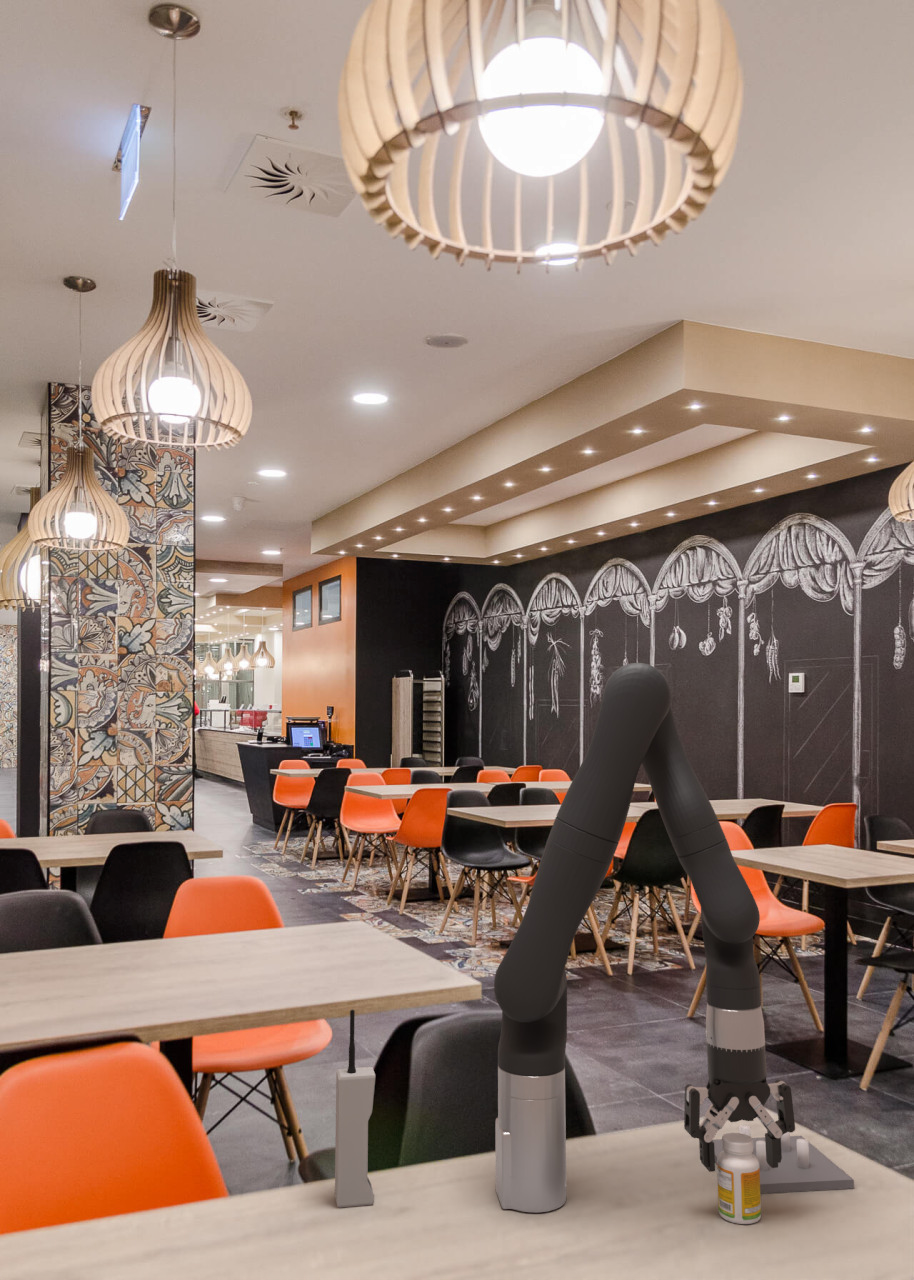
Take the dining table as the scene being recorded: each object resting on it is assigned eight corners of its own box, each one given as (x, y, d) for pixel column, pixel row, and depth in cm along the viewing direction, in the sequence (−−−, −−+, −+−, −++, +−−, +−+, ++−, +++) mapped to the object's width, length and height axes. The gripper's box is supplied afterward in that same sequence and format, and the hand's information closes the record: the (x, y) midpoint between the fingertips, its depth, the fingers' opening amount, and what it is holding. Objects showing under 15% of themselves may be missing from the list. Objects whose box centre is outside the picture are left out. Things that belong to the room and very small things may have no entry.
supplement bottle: (762, 1210, 132) (759, 1133, 133) (760, 1228, 127) (757, 1148, 128) (720, 1204, 134) (718, 1128, 135) (716, 1221, 129) (714, 1142, 130)
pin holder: (743, 1194, 137) (742, 1158, 137) (701, 1148, 152) (700, 1116, 153) (854, 1188, 138) (852, 1153, 139) (801, 1143, 154) (800, 1111, 155)
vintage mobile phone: (374, 1205, 133) (376, 1011, 136) (336, 1208, 132) (339, 1013, 135) (371, 1193, 137) (373, 1004, 140) (334, 1196, 136) (337, 1006, 139)
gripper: (693, 1050, 128) (699, 1183, 126) (799, 1044, 130) (806, 1176, 128) (674, 1034, 136) (679, 1159, 134) (774, 1029, 137) (781, 1153, 135)
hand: (741, 1167), depth 131 cm, fingers open, 8 cm apart
